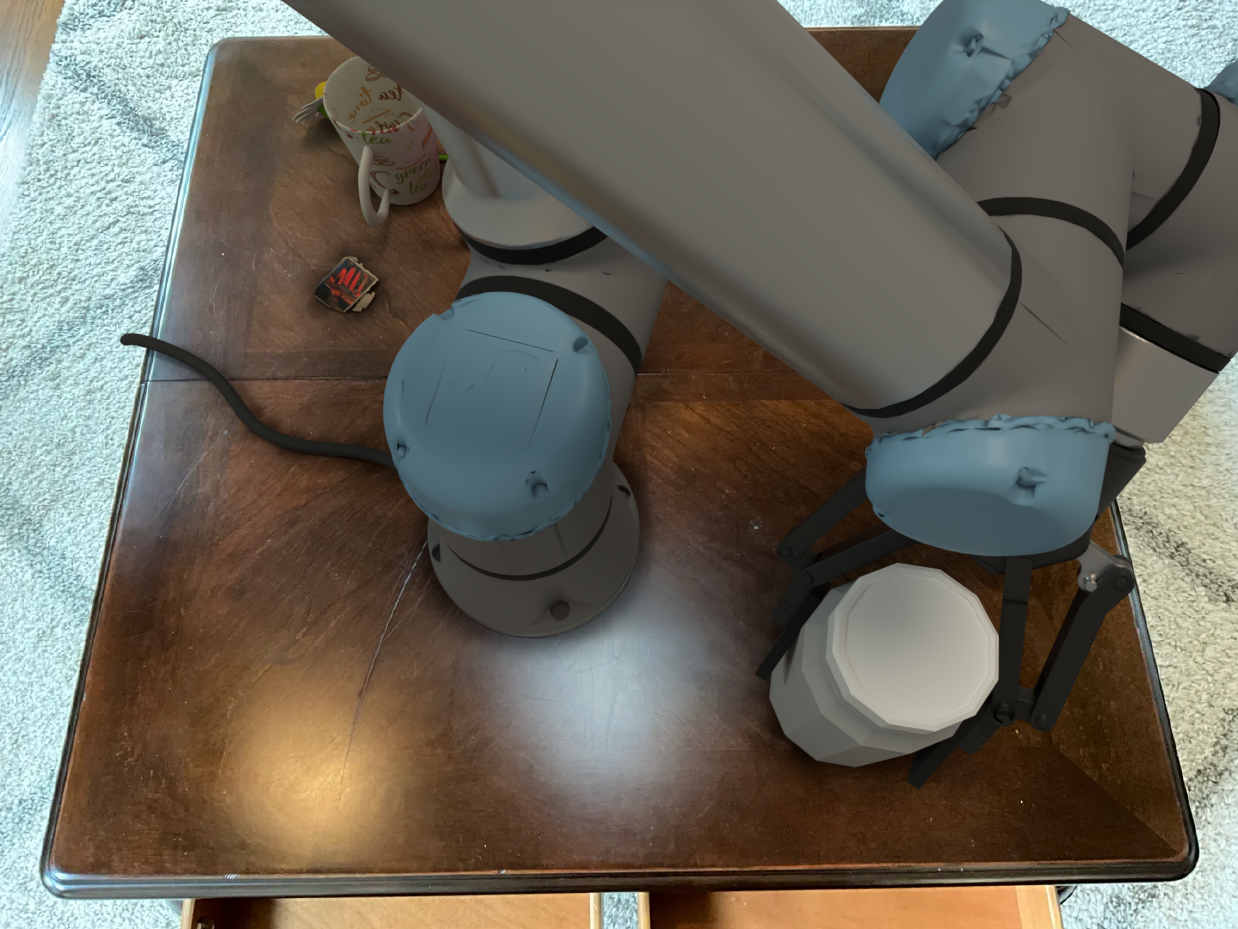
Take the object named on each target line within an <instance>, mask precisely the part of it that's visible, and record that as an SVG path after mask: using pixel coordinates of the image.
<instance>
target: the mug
mask: <svg viewBox="0 0 1238 929" xmlns="http://www.w3.org/2000/svg"><path fill="white" fill-rule="evenodd" d="M326 81H327V82H326V84H325V87H324V91H323V103H324V107H325V110H326V113H327V115H328V117H329V119H330V122H331V124H332V125H333V127H334V128H335V130H336V132H337V133H338V135H339V137H340V138H341V140H342V141H343V143H344V144H345V146H346V148H347V149H348V151H349V152H350V154H351V156H352V158H353V159H354V161H355V162H356V164H357V165H358V167H359V168H358V175H357V178H358V179H357V182H358V196H359V202H360V207H361V211H362V215H363V218H364V220H365V221H366V222H367V224H368V225H369V226H370V227H371V228H374V229H378V228H380V227H381V226H382V225H383V224H384V223H385V222H386V221H387V219H388V217H389V211H390V204H392V205H398V206H409V205H413V204H417V203H420V202H422V201H424V200H425V199H427V198H429V197H430V196H431V195H432V194H433V193H434V192H435V190H436V189H437V187H438V185H439V184H440V179H441V166H440V165H441V164H440V160H439V155H440V154H439V147H438V137H437V136H436V134H435V132H434V130H433V129H432V127H431V125H430V123H429V121H428V120H427V118H426V116H425V114H424V112H423V111H422V109H421V107H420V105H419V104H418V102H417V100H416V98H415V97H414V96H413V95H412V94H410V93H409V92H407V91H406V90H405V89H403V88H402V87H400V86H399V85H398V84H396V83H395V82H394V81H392V80H391V79H389V78H388V77H387V76H385V75H384V74H382V73H381V72H380V71H378V70H377V69H375V68H374V67H373V66H371V65H370V64H369V63H367V62H366V61H364V60H363V59H362V58H360V57H359V56H357V55H355V56H353V57H351V58H349V59H347V60H345V61H344V62H342V63H341V64H340V65H338V67H336V68H335V69H334V71H332V72H331V74H330V75H329V77H328V78H327V79H326ZM329 119H328V120H329ZM370 187H372V190H373V191H374V192H375V194H377V196H378V197H379V198H380V199H381V201H380V205H379V207H378V211H377V212H376V211H375V210H374V207H373V204H372V199H371V190H370Z"/></svg>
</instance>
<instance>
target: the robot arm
mask: <svg viewBox="0 0 1238 929" xmlns="http://www.w3.org/2000/svg"><path fill="white" fill-rule="evenodd" d="M280 1H281V2H282V3H284V4H285V5H287V6H288V7H290V8H291V9H292V10H293V11H295V12H296V13H298V14H299V15H300V16H302V17H303V18H305V19H306V20H307V21H309V22H310V23H311V24H313V25H314V26H316V27H317V28H318V29H320V30H321V31H323V32H324V33H326V34H327V35H329V36H330V37H331V38H332V39H334V40H335V41H336V42H338V43H339V44H341V46H343V47H345V48H346V49H348V50H349V51H351V52H352V53H353V54H355V56H359V57H360V58H362V59H363V60H364V61H366V62H367V63H369V64H370V65H371V66H373V67H374V68H375V69H377V70H378V71H380V72H381V73H382V74H384V75H385V76H387V77H388V78H389V79H391V80H392V81H394V82H395V83H396V84H398V85H399V86H400V87H402V88H403V89H405V90H406V91H407V92H409V93H410V94H412V95H413V96H414V97H415V98H416V100H417V102H418V104H419V105H420V107H421V109H422V111H423V112H424V114H425V116H426V118H427V120H428V121H429V123H430V125H431V127H432V129H433V130H434V132H435V134H436V136H437V140H438V141H439V143H440V145H441V147H442V149H443V150H444V152H445V153H446V155H448V160H447V161H446V163H445V164H444V169H443V173H442V179H441V192H442V199H443V202H444V207H445V209H446V211H447V213H448V215H449V217H450V218H451V219H450V220H451V221H452V220H453V222H454V224H455V225H456V227H457V229H458V230H459V231H458V230H457V229H456V230H457V231H458V233H459V234H460V235H461V237H462V239H463V240H464V242H465V244H466V245H467V247H468V249H469V251H470V262H469V265H468V267H467V270H466V272H465V275H464V277H463V280H462V282H461V284H460V287H459V289H458V291H457V293H456V295H455V297H454V301H453V302H452V303H451V307H450V308H449V309H446V310H445V311H444V312H443V313H441V314H439V315H438V314H437V313H432V314H431V315H430V316H428V317H427V318H426V319H425V320H424V321H422V322H421V323H420V324H419V325H418V326H417V327H416V328H415V329H414V330H413V332H412V333H411V334H410V335H409V336H408V337H407V339H406V340H405V341H404V343H403V345H402V346H401V347H400V349H399V351H398V353H397V354H396V356H395V358H394V361H393V363H392V365H391V367H390V369H389V372H388V377H387V380H386V384H385V387H384V394H383V406H382V418H383V427H384V433H385V437H386V438H385V439H386V441H387V445H388V448H389V450H390V453H388V452H386V451H383V450H380V449H377V448H373V447H369V446H364V445H359V444H353V443H342V442H331V441H317V440H311V439H304V438H300V437H299V438H298V437H295V436H292V435H288V434H285V433H282V432H280V431H278V430H276V429H274V428H272V427H271V426H269V425H267V424H265V423H264V422H263V421H261V420H260V419H259V418H258V417H257V416H256V415H254V413H253V412H252V411H251V409H250V408H249V407H248V405H246V403H245V402H244V400H243V398H241V397H240V395H239V393H238V392H237V390H236V389H235V388H234V387H233V385H232V384H231V383H230V382H229V380H227V378H226V377H225V376H224V375H223V374H222V372H220V371H219V370H218V369H217V368H215V367H214V365H211V364H210V363H208V362H207V361H206V360H204V359H202V358H201V357H199V356H197V355H195V354H194V353H192V352H189V350H186V349H183V348H181V347H180V346H177V345H175V344H173V343H170V342H168V341H166V340H162V339H159V338H156V337H154V336H150V335H146V334H143V333H137V332H127V333H124V334H122V335H121V336H120V339H119V343H120V344H121V345H122V346H125V347H128V346H129V347H130V346H134V347H140V348H143V349H146V350H149V351H150V350H151V351H154V352H156V353H159V354H162V355H164V356H166V357H169V358H170V359H174V360H175V361H178V362H180V363H182V364H184V365H185V366H188V367H189V368H191V369H193V370H195V371H197V372H198V373H200V374H201V375H202V376H204V377H205V378H206V379H207V380H209V382H211V383H212V384H213V386H215V387H216V389H218V391H219V392H220V394H221V395H222V397H223V398H224V399H225V401H226V402H227V403H228V405H229V407H230V408H231V409H232V411H233V412H234V413H235V415H236V416H237V417H238V418H239V419H240V420H241V422H242V423H243V424H244V425H245V426H246V427H247V428H248V429H249V430H251V432H253V433H254V434H256V435H257V436H258V437H259V438H261V439H263V440H265V441H267V442H268V443H271V444H273V445H274V446H278V447H281V448H283V449H286V450H291V451H294V452H298V453H304V454H310V455H319V456H321V455H322V456H331V457H333V456H334V457H344V458H352V459H358V460H363V461H367V462H370V463H371V462H372V463H374V464H378V465H380V466H383V467H386V468H388V469H391V470H393V471H394V472H396V473H397V475H398V478H399V480H400V481H401V483H402V485H403V487H404V488H405V490H406V492H407V494H408V495H409V496H410V498H411V500H412V501H413V502H414V503H415V505H416V506H417V507H418V508H419V510H420V511H422V512H423V513H424V515H426V516H427V517H428V519H427V520H428V521H427V544H428V545H427V546H428V552H429V557H430V562H431V565H432V567H433V568H432V569H433V571H434V573H435V575H436V577H437V579H438V582H439V583H440V585H441V587H442V589H443V590H444V591H445V593H446V594H447V595H448V597H449V598H450V600H452V602H453V603H454V604H455V605H456V606H457V607H458V608H459V610H461V611H462V612H463V613H464V614H465V615H466V616H468V617H469V618H471V619H472V620H473V621H475V622H476V623H478V624H480V625H482V626H483V627H486V628H487V629H491V630H492V631H495V632H498V633H501V634H503V635H508V636H514V637H521V638H541V637H549V636H555V635H559V634H562V633H566V632H569V631H571V630H574V629H576V628H579V627H581V626H583V625H585V624H587V623H588V622H590V621H592V620H593V619H594V618H596V617H597V616H599V615H600V614H602V612H604V611H605V610H606V609H607V608H608V607H609V606H610V605H611V604H612V603H613V602H614V601H615V600H616V599H617V597H618V596H619V595H620V593H621V592H622V590H623V589H624V587H625V586H626V585H627V582H628V581H629V579H630V577H631V574H632V572H633V570H634V567H635V563H636V560H637V558H638V553H639V546H640V529H641V528H640V526H641V525H640V515H639V510H638V505H637V501H636V499H635V495H634V493H633V491H632V488H631V486H630V483H629V482H628V480H627V478H626V476H625V475H624V473H623V472H622V470H621V469H620V467H619V466H618V465H617V464H616V463H615V461H614V460H613V458H614V457H613V456H614V453H615V449H616V447H617V446H616V445H617V441H618V440H619V439H618V438H619V435H620V432H621V430H622V427H623V423H624V421H625V417H626V414H627V410H628V407H629V405H630V401H631V398H632V395H633V391H634V389H635V385H636V381H637V379H638V376H639V372H640V369H641V366H642V364H643V361H644V358H645V354H646V352H647V349H648V346H649V342H650V339H651V336H652V333H653V330H654V326H655V323H656V320H657V317H658V314H659V311H660V308H661V305H662V302H663V299H664V296H665V293H666V289H667V286H668V283H669V281H670V282H671V283H672V284H674V285H675V286H677V288H679V289H681V290H682V291H683V292H685V293H686V294H688V296H690V297H692V298H693V299H694V300H696V301H697V302H699V303H700V304H701V305H703V306H704V307H705V308H707V309H708V310H709V311H711V312H713V313H714V314H715V315H717V317H719V318H720V319H722V320H724V321H725V322H726V323H728V324H729V325H730V326H732V327H733V328H734V329H736V330H737V331H739V332H740V333H742V334H743V335H744V336H746V337H747V338H749V339H750V340H751V341H753V342H754V343H756V344H757V345H759V347H761V348H763V349H764V350H765V351H766V352H768V353H769V354H770V355H772V356H774V357H775V358H776V359H778V360H779V361H780V362H782V363H783V364H785V365H786V366H787V367H789V368H790V369H792V370H793V371H794V372H796V373H797V374H798V375H800V376H801V377H802V378H804V379H805V380H807V381H808V382H810V383H811V384H812V385H813V386H815V387H816V388H818V389H820V391H822V392H824V394H826V395H827V396H829V397H830V398H832V399H833V400H834V401H836V402H837V403H839V404H840V405H841V406H842V407H843V408H844V409H845V410H846V411H848V412H849V413H851V415H853V416H855V417H856V418H857V419H859V420H861V421H862V422H864V423H865V424H866V425H867V426H868V427H870V429H871V431H872V440H871V442H870V443H869V444H868V445H867V446H866V447H865V452H864V457H865V459H866V464H865V465H864V466H863V467H862V468H860V469H859V470H858V471H857V472H856V473H855V474H854V475H852V476H851V477H850V478H849V479H848V480H846V481H845V482H844V483H843V484H842V485H841V486H840V487H838V488H837V489H836V490H835V491H834V492H832V493H831V494H830V495H829V496H828V497H826V499H824V500H823V501H822V502H821V503H820V504H819V505H817V506H816V507H815V508H814V509H813V510H811V511H810V512H809V513H808V514H807V515H806V516H805V517H803V518H802V519H801V520H800V521H798V522H797V523H796V524H795V525H794V526H792V528H791V529H789V530H788V532H787V533H786V534H785V535H784V537H783V538H782V540H781V541H780V542H779V543H778V545H777V546H776V549H775V553H776V556H777V557H778V559H779V560H780V561H782V562H786V563H787V564H788V566H789V567H790V568H791V569H792V572H793V580H792V581H791V584H790V585H789V586H788V588H787V589H786V591H785V592H784V594H783V595H782V596H781V598H780V600H779V601H778V603H777V604H776V606H775V607H774V609H773V610H772V613H771V621H773V622H774V623H776V624H777V625H778V626H780V627H781V628H783V630H782V631H781V633H780V635H779V636H778V637H777V638H776V640H775V642H774V643H773V644H772V646H771V647H770V649H769V651H768V652H767V653H766V655H765V656H764V658H763V660H762V661H761V663H760V665H759V666H758V667H757V669H756V671H755V672H754V675H755V676H756V677H758V678H759V679H760V680H762V681H763V682H766V681H767V680H768V679H769V677H770V676H771V675H772V671H773V670H774V669H775V667H776V666H777V664H778V663H779V661H780V660H781V659H782V657H783V656H784V654H785V653H786V651H787V650H788V649H789V647H790V646H791V644H792V643H793V641H794V640H795V639H796V637H797V636H798V634H799V633H800V631H801V628H802V627H803V626H804V624H805V623H806V622H807V620H808V619H809V618H810V617H811V615H812V614H813V613H814V611H815V610H816V609H817V607H818V606H819V604H820V603H821V601H822V600H823V598H824V597H825V596H826V595H827V594H828V592H829V589H830V588H831V586H832V583H831V581H832V580H835V579H837V578H840V577H843V576H844V575H846V574H849V573H851V572H853V571H855V570H858V569H860V568H862V567H865V566H867V565H869V564H872V563H874V562H876V561H879V560H881V559H883V558H886V557H888V556H890V555H892V554H895V553H897V552H900V551H902V550H904V549H907V548H908V547H911V546H918V545H921V544H925V545H928V546H931V547H935V548H937V549H938V548H939V549H942V550H945V551H951V552H955V553H958V554H961V555H964V556H967V557H969V558H970V560H972V561H973V562H974V563H975V564H976V565H977V566H978V567H979V568H980V569H982V570H983V571H984V572H986V573H988V574H989V575H991V576H992V577H994V576H996V574H997V575H1000V576H1004V580H1003V589H1002V599H1001V609H1000V619H999V629H998V636H999V664H998V681H997V683H996V684H995V686H994V687H993V689H992V690H991V692H990V693H989V695H988V696H987V698H986V699H985V701H984V703H983V704H982V706H981V707H980V709H979V710H978V712H977V713H976V715H974V716H972V717H969V718H967V719H965V720H963V721H962V723H961V724H960V726H959V727H958V729H957V730H956V732H955V733H954V735H953V736H952V737H949V738H947V739H944V740H942V741H939V742H937V743H934V744H932V745H930V746H927V747H925V748H922V749H920V750H917V751H915V752H914V754H913V755H912V759H911V763H910V767H909V769H908V770H909V771H908V775H907V778H906V783H908V784H909V785H910V786H912V787H914V788H915V789H916V790H918V791H919V790H920V789H921V788H922V787H923V785H925V783H926V782H927V781H928V780H929V779H930V778H931V776H932V775H933V774H934V773H935V772H936V771H937V769H938V768H939V767H940V766H941V765H942V764H943V763H944V762H945V761H946V759H947V758H948V757H949V756H950V755H951V753H953V751H954V750H955V749H956V748H958V749H960V750H961V751H963V752H964V753H966V754H967V755H968V756H971V755H973V754H975V753H978V752H980V750H981V749H982V748H983V747H984V745H985V744H986V743H987V742H988V741H989V740H990V739H991V738H992V737H993V735H995V733H996V732H998V730H999V729H1000V727H1006V728H1007V727H1010V726H1012V725H1013V724H1014V723H1015V721H1016V720H1020V721H1024V722H1026V723H1029V724H1030V725H1031V726H1032V728H1033V729H1035V730H1036V731H1039V732H1050V731H1051V730H1053V729H1054V728H1055V726H1056V724H1057V722H1058V719H1059V717H1060V715H1061V713H1062V710H1063V709H1064V707H1065V704H1066V702H1067V701H1068V698H1069V696H1070V694H1071V692H1072V689H1073V687H1074V685H1075V683H1076V680H1077V679H1078V676H1079V674H1080V672H1081V670H1082V668H1083V665H1084V663H1085V661H1086V659H1087V657H1088V654H1089V653H1090V650H1091V648H1092V646H1093V644H1094V641H1095V640H1096V637H1097V636H1098V633H1099V631H1100V629H1101V627H1102V624H1103V622H1104V621H1105V618H1106V616H1107V614H1108V613H1109V612H1111V611H1112V610H1113V609H1114V608H1115V607H1116V606H1117V605H1118V604H1119V603H1120V602H1122V601H1123V600H1124V599H1125V598H1126V597H1127V596H1128V595H1129V594H1130V593H1132V592H1133V591H1134V589H1135V585H1136V581H1135V577H1134V572H1133V568H1132V563H1131V561H1130V559H1129V558H1128V557H1127V556H1125V555H1122V554H1118V553H1117V554H1111V553H1110V552H1108V551H1107V550H1106V549H1104V548H1103V547H1101V545H1099V544H1098V543H1096V542H1094V541H1093V540H1092V532H1093V529H1094V526H1095V524H1096V523H1097V521H1098V520H1099V519H1100V518H1101V517H1102V515H1103V514H1104V513H1105V512H1106V511H1107V510H1108V508H1110V506H1111V505H1112V504H1113V502H1114V501H1115V500H1116V499H1117V497H1119V495H1120V494H1121V493H1122V492H1123V490H1125V488H1126V487H1127V486H1128V484H1129V483H1130V482H1131V481H1132V480H1133V479H1134V477H1135V476H1136V475H1137V474H1138V473H1139V471H1140V470H1141V469H1142V468H1143V467H1144V466H1145V464H1146V463H1147V457H1146V456H1147V451H1146V449H1145V447H1144V445H1145V444H1148V445H1153V444H1162V443H1164V442H1165V441H1166V440H1167V438H1168V437H1169V435H1171V433H1172V432H1173V431H1174V430H1175V428H1176V427H1177V426H1178V425H1179V424H1180V422H1182V421H1183V419H1184V418H1185V416H1186V415H1187V414H1188V413H1189V411H1190V410H1191V409H1192V408H1193V407H1194V406H1195V404H1196V403H1197V402H1198V400H1200V398H1201V397H1202V396H1203V395H1204V393H1206V391H1207V390H1208V389H1209V387H1210V386H1211V385H1212V384H1213V383H1214V381H1215V380H1216V379H1217V378H1218V376H1220V374H1221V373H1220V372H1222V371H1223V370H1224V369H1225V368H1226V367H1227V365H1228V364H1230V362H1231V361H1232V359H1233V358H1234V357H1235V356H1236V355H1237V354H1238V59H1237V60H1234V61H1233V62H1231V63H1230V64H1227V65H1226V66H1225V67H1224V68H1222V70H1221V71H1220V72H1218V74H1217V75H1216V76H1215V77H1214V79H1212V81H1210V83H1209V84H1208V85H1206V86H1204V87H1197V86H1195V85H1194V84H1192V83H1191V82H1188V81H1187V80H1185V79H1184V78H1182V77H1180V76H1178V75H1177V74H1175V73H1173V72H1172V71H1170V70H1168V69H1167V68H1165V67H1163V66H1162V65H1161V64H1158V63H1156V62H1155V61H1153V60H1151V59H1150V58H1147V57H1146V56H1144V55H1142V54H1141V53H1140V52H1138V51H1136V50H1134V49H1132V48H1131V47H1129V46H1127V45H1126V44H1124V43H1122V42H1121V41H1119V40H1117V39H1115V38H1113V37H1112V36H1110V35H1108V34H1107V33H1105V32H1104V31H1102V30H1100V29H1098V28H1096V27H1095V26H1093V25H1092V24H1089V23H1088V22H1086V21H1084V20H1082V19H1081V18H1080V17H1078V16H1076V15H1074V14H1072V11H1071V10H1069V8H1067V7H1064V6H1055V5H1052V4H1049V3H1047V2H1045V1H1043V0H941V2H940V3H939V4H937V5H936V6H935V8H934V9H933V10H932V12H930V14H929V15H928V16H927V17H926V18H925V20H924V21H923V22H922V23H921V25H920V26H919V27H918V29H917V30H916V32H915V34H914V35H913V36H912V38H911V39H910V41H909V42H908V44H907V45H906V47H905V49H904V50H903V52H902V54H901V55H900V57H899V59H898V61H897V63H896V65H895V66H894V68H893V70H892V72H891V74H890V76H889V78H888V80H887V83H886V84H885V87H884V90H883V92H882V95H881V97H880V99H879V101H877V100H876V99H875V98H874V97H873V96H872V95H871V94H870V93H869V92H868V91H867V90H866V89H865V88H864V87H863V86H862V84H860V83H859V82H858V81H857V80H856V79H855V77H853V76H852V75H851V74H850V72H848V71H847V70H846V69H845V67H843V65H842V64H840V63H839V62H838V61H837V59H836V58H834V56H832V55H831V54H830V52H829V51H828V50H827V49H826V48H824V46H823V45H821V43H819V41H818V40H817V39H816V38H815V37H814V36H813V35H812V34H811V33H810V32H809V31H808V30H807V29H806V28H805V27H804V26H803V25H802V24H801V23H800V22H799V21H798V20H797V19H796V18H795V17H794V16H793V15H792V14H791V13H790V12H789V11H788V10H787V8H785V7H784V6H783V5H782V3H780V2H779V1H778V0H280ZM878 102H879V103H878ZM453 222H452V223H453ZM454 224H453V225H454ZM456 227H455V228H456ZM867 500H869V502H870V503H871V504H872V512H874V514H875V515H876V516H877V517H878V519H880V521H881V522H879V523H878V524H876V525H874V526H872V527H869V528H867V529H865V530H863V531H861V532H859V533H856V534H854V535H851V536H850V537H848V538H846V539H843V540H841V541H839V542H836V543H835V544H833V545H831V546H828V547H826V548H824V549H822V550H820V551H817V550H815V548H814V547H813V545H814V544H815V543H816V542H818V541H819V540H820V539H821V538H822V537H824V536H825V535H826V534H827V533H828V532H830V531H831V530H832V529H833V528H834V527H836V526H837V525H838V524H839V523H840V522H841V521H843V520H844V519H845V518H846V517H847V516H849V515H850V514H851V513H852V512H854V511H855V510H856V509H857V508H858V507H859V506H860V505H862V504H863V503H865V501H867ZM1073 560H1077V561H1078V563H1079V566H1078V568H1077V571H1076V582H1077V585H1078V589H1077V590H1076V593H1075V595H1074V596H1073V600H1072V601H1071V604H1070V606H1069V608H1068V610H1067V613H1066V615H1065V616H1064V619H1063V621H1062V624H1061V626H1060V627H1059V631H1058V633H1057V635H1056V637H1055V639H1054V641H1053V644H1052V646H1051V649H1050V651H1049V653H1048V654H1047V657H1046V660H1045V662H1044V664H1043V666H1042V669H1041V671H1040V674H1039V676H1038V678H1037V680H1036V681H1035V684H1034V686H1033V689H1032V688H1028V687H1025V686H1022V685H1020V679H1021V669H1022V660H1023V652H1024V645H1025V644H1024V643H1025V642H1024V641H1025V635H1026V625H1027V615H1028V614H1027V613H1028V607H1029V602H1030V601H1029V599H1030V593H1031V592H1030V590H1031V581H1032V573H1033V571H1035V570H1039V569H1043V568H1046V567H1050V566H1055V565H1058V564H1062V563H1065V562H1069V561H1073Z"/></svg>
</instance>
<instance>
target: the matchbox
mask: <svg viewBox="0 0 1238 929" xmlns="http://www.w3.org/2000/svg"><path fill="white" fill-rule="evenodd" d="M377 281H379V278H377V275H374V274H373V273H371V272H370V271H369V269H365V267H364V266H363V262H360V263H359V262H358V258H357V257H354V256H352V255H347V254H346V256H344V257H343V258H341V260H340V261H339V262H338V264H335V265H334V267H333V268H332V269H331V270H330V272H329V273H327V275H326V276H323V277H322V278H321V279H320V281H319V283H318V285H317V286H316V288H315V290H314V292H313V293H312V295H313V296H314V297H315V298H316V299H317V300H318V301H320V302H322V305H323V304H324V306H327V307H328V308H331V309H333V310H336V311H338V312H340V313H346V311H348V310H351V311H354V312H362V311H363V309H364V310H366V309H367V307H369V304H370V303H371V302H372V300H373V299H374V297H375V295H376V293H375V291H371V294H370V293H367V292H370V290H371V288H372V287H373V286H374V285H376V283H377ZM355 303H356V304H355ZM354 305H355V306H354ZM353 306H354V307H353ZM352 307H353V308H352Z"/></svg>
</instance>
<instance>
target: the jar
mask: <svg viewBox="0 0 1238 929" xmlns="http://www.w3.org/2000/svg"><path fill="white" fill-rule="evenodd" d="M998 664H999V633H998V632H997V630H996V628H995V626H994V624H993V623H992V621H991V619H990V617H989V615H988V613H987V612H986V610H985V608H984V606H983V604H982V602H981V600H980V598H979V597H978V595H977V594H976V593H974V592H973V591H972V590H970V589H968V588H967V587H965V586H964V585H963V584H962V583H960V582H959V581H957V580H956V579H954V578H953V577H951V576H950V575H948V574H947V573H946V572H944V571H943V570H942V569H939V568H932V567H926V566H920V565H914V564H908V563H901V562H896V563H894V564H891V565H888V566H885V567H883V568H880V569H878V570H875V571H873V572H870V573H867V574H864V575H861V576H859V577H858V578H856V579H854V580H852V581H848V582H846V583H844V584H841V585H838V586H836V587H833V588H831V589H830V590H828V592H827V593H826V594H825V596H824V598H823V600H822V601H821V603H820V604H819V606H818V607H817V609H816V610H815V611H814V613H813V614H812V615H811V617H810V618H809V619H808V620H807V622H806V623H805V624H804V626H803V627H802V628H801V631H800V633H799V634H798V636H797V637H796V639H795V640H794V641H793V643H792V644H791V646H790V647H789V649H788V650H787V651H786V653H785V654H784V656H783V657H782V659H781V660H780V661H779V663H778V664H777V666H776V667H775V669H774V670H773V671H772V673H771V675H770V676H771V678H770V685H769V686H770V688H769V696H768V697H769V701H770V704H771V706H772V708H773V710H774V713H775V715H776V717H777V719H778V722H779V724H780V727H781V729H782V732H783V733H784V735H785V736H786V737H787V738H788V739H789V740H790V741H792V742H793V743H794V744H796V745H797V746H798V747H799V748H800V749H801V750H803V751H804V752H805V753H806V754H808V755H809V756H810V757H812V758H813V759H814V760H815V761H817V762H823V763H829V764H835V765H839V766H840V765H841V766H845V767H852V768H859V767H862V766H866V765H870V764H875V763H878V762H882V761H887V760H890V759H894V758H897V757H902V756H906V755H909V754H912V753H916V752H917V751H918V750H920V749H922V748H925V747H927V746H930V745H932V744H934V743H937V742H939V741H942V740H944V739H947V738H949V737H952V736H953V735H954V733H955V732H956V730H957V729H958V727H959V726H960V724H961V723H962V721H963V720H965V719H967V718H969V717H972V716H974V715H976V713H977V712H978V710H979V709H980V707H981V706H982V704H983V703H984V701H985V699H986V698H987V696H988V695H989V693H990V692H991V690H992V689H993V687H994V686H995V684H996V683H997V681H998Z"/></svg>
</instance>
